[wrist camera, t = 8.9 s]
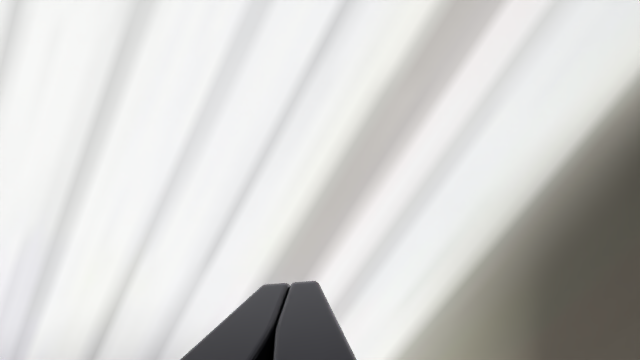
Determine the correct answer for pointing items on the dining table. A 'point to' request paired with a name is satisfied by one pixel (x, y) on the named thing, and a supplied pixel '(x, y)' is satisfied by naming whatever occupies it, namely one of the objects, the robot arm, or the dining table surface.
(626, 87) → the dining table surface
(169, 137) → the dining table surface
